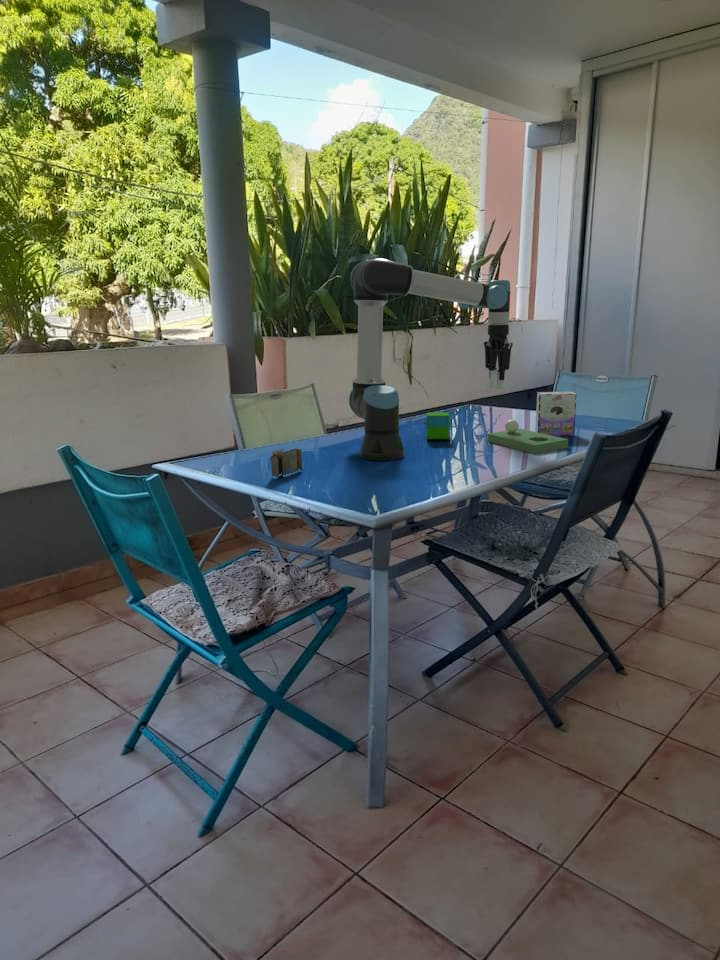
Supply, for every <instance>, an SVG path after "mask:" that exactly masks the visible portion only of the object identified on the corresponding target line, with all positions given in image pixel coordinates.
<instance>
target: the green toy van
mask: <svg viewBox="0 0 720 960" xmlns="http://www.w3.org/2000/svg"><path fill="white" fill-rule="evenodd" d="M423 425H425V426H426V440H427V441H428V442H429V441H430V442H431V440H445V441H447V442H448V441H449V439H450V425H452V422H450V413H449V412H426V422H424V424H423Z"/></svg>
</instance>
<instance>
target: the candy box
mask: <svg viewBox="0 0 720 960" xmlns="http://www.w3.org/2000/svg"><path fill="white" fill-rule="evenodd" d="M535 407H536V409H535V410H536V411H535V412H536V413H535V427H534V428H535V429H534V430H535V431H534V432H537V433H542V434H546V435H551V436H555V437H574V436H575V429H576V428H575V427H576V412H577V411H576V410H577V408H576V407H577V393H576V392H574V391H537V392H536V406H535Z"/></svg>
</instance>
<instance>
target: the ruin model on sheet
mask: <svg viewBox="0 0 720 960" xmlns="http://www.w3.org/2000/svg"><path fill="white" fill-rule="evenodd" d="M283 450H284V449H283V448H281V449H280V450H279V449H278V450H275V451H274V452H272V453H271V454H272V455H270V464H271V466H270V467H271V468H270V469H271V477H272V476H276V477H279V474H281V473H282V475H286V474H289V473H293V472H296V471H298V469H300V470H302V471H303V456H302V455H303V453H302V451H303V450H302V448H291V449H289V450H286V451H283ZM279 478H280V477H279Z"/></svg>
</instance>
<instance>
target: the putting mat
mask: <svg viewBox="0 0 720 960" xmlns="http://www.w3.org/2000/svg"><path fill="white" fill-rule="evenodd" d="M486 441H487V443H491V444H494V443H495V445H498V444H499V446H503V447H507V448H510V449H515V450H517V449H518V450H517V451H521V450H522V452H525V451H526V453H529V452H530V453H529V454H533V453H536V454H541V453H540V452H542V453H547V452H551V451H557V450H562V449H568V446H569V439H568V438H563V437H561V436H551V435H546V434H542V433H537V432H535V431H533V430H527V429H523V428H518V430H517V431H516V432H514V433H509V432H507V431H506V430H502V431H497V432H490V433H487V440H486ZM546 451H547V452H546Z"/></svg>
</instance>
